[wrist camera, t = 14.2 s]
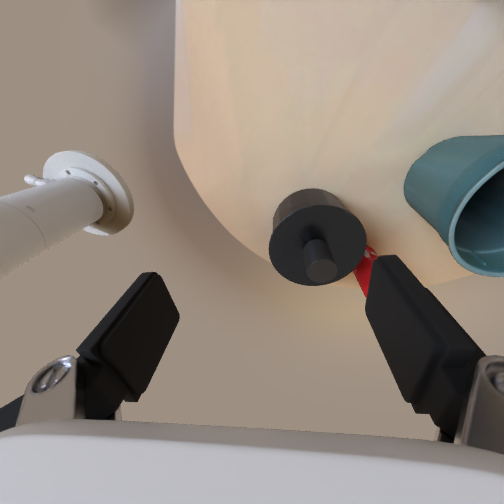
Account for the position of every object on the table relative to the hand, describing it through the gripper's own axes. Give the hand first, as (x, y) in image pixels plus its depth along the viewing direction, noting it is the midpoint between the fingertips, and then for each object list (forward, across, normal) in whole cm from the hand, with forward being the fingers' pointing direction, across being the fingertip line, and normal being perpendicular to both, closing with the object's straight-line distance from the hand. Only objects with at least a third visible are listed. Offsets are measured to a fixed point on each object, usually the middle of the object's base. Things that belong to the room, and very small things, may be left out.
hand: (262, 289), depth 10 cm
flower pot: (+32, -27, +6) cm, 43 cm away
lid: (+23, -6, +12) cm, 26 cm away
